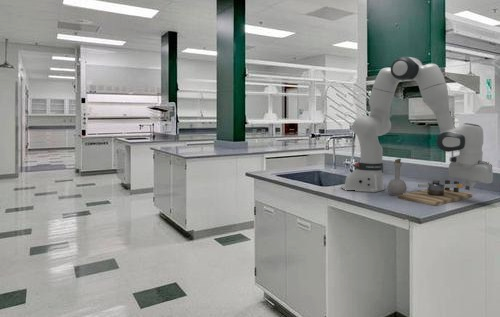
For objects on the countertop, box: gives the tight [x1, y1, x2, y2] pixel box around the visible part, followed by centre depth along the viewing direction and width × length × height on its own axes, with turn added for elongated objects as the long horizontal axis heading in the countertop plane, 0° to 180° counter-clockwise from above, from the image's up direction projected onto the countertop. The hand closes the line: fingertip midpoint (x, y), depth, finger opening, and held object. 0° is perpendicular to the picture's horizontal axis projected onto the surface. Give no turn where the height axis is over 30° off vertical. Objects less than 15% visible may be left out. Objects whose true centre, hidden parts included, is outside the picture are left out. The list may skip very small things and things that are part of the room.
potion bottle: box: [387, 158, 408, 197], centre depth 175 cm, size 9×9×18 cm
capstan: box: [417, 179, 464, 195], centre depth 168 cm, size 20×7×6 cm, turn 87°
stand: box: [397, 179, 473, 207], centre depth 168 cm, size 31×18×6 cm, turn 122°
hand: (468, 189), depth 161 cm, fingers closed
